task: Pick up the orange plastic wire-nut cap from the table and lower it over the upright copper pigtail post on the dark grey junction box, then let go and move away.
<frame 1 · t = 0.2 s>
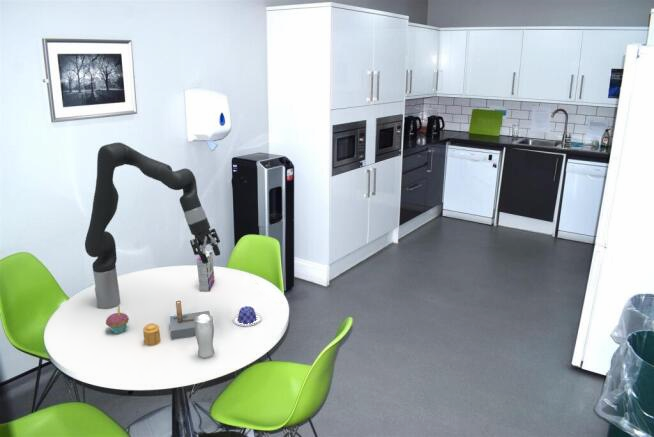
hand: (212, 259, 202), 31 cm above the table, tool tilted 20°, fingers open, 8 cm apart
pigtail post: (181, 330, 210), resting on junction box
pudding: (247, 320, 219), on the table
candy bar box: (207, 286, 249), on the table
cupcake: (118, 330, 211), on the table
beer glass: (206, 354, 195), on the table
junction box: (191, 329, 212), on the table
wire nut: (152, 341, 203), on the table
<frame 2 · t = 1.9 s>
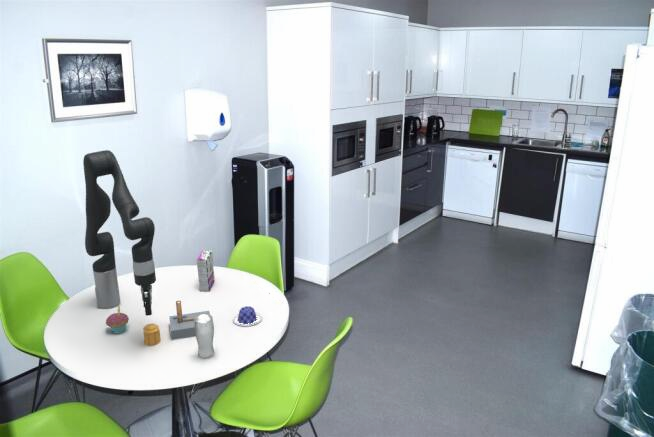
hand: (148, 309, 198), 14 cm above the table, tool pointing down, fingers open, 8 cm apart
nothing on the table moved.
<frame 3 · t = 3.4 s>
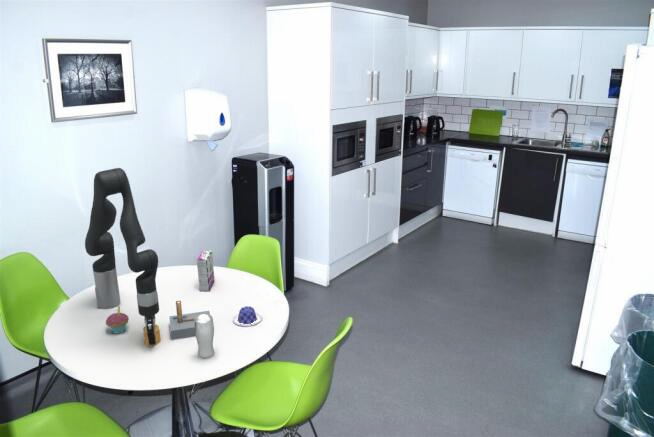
hand: (152, 339, 202), 1 cm above the table, tool pointing down, fingers closed on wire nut, 5 cm apart
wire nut: (152, 341, 203), on the table, touching gripper
everything else where it was.
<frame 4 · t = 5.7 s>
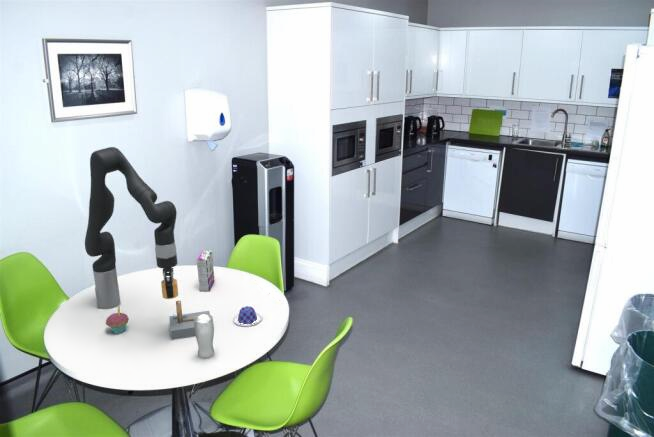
hand: (170, 293, 203), 18 cm above the table, tool pointing down, fingers closed on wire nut, 5 cm apart
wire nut: (170, 295, 203), point 17 cm above the table, touching gripper
everything else where it was.
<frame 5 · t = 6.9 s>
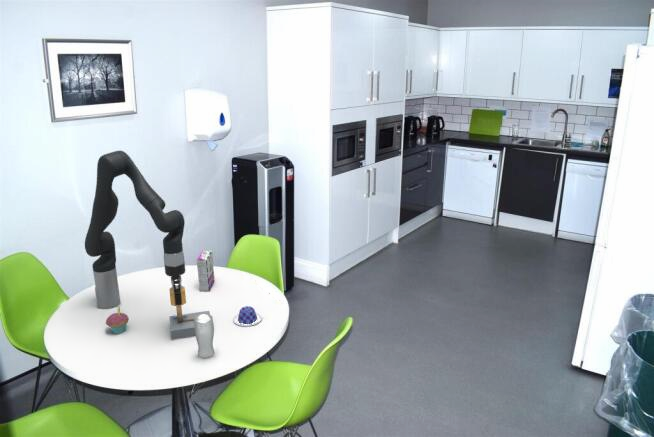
hand: (178, 300, 206), 13 cm above the table, tool pointing down, fingers closed on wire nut, 5 cm apart
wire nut: (178, 302, 206), point 13 cm above the table, touching gripper
everything else where it was.
when the fingers open (11 cm above the table, at t = 8.0 s): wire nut drops 2 cm, resting on pigtail post.
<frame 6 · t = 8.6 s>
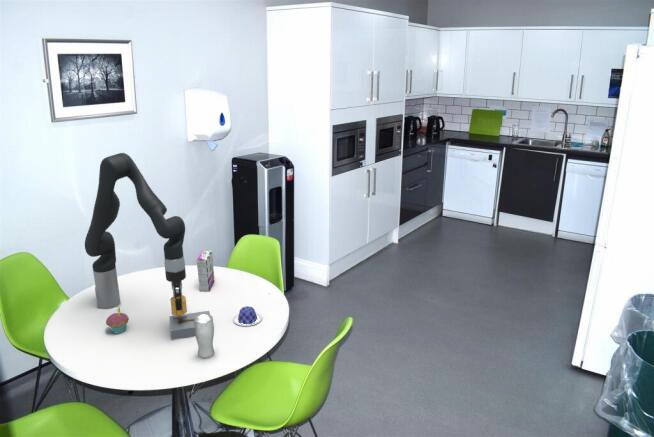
hand: (178, 304, 207), 12 cm above the table, tool pointing down, fingers open, 8 cm apart
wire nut: (179, 312, 208), point 8 cm above the table, touching pigtail post
everything else where it was.
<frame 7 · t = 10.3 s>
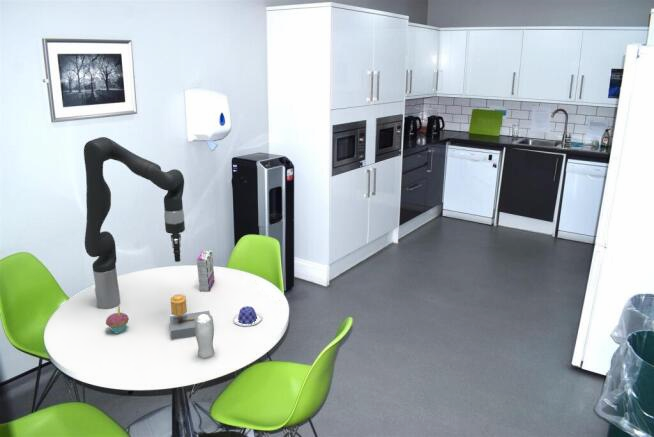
hand: (177, 257, 213), 27 cm above the table, tool pointing down, fingers open, 8 cm apart
nothing on the table moved.
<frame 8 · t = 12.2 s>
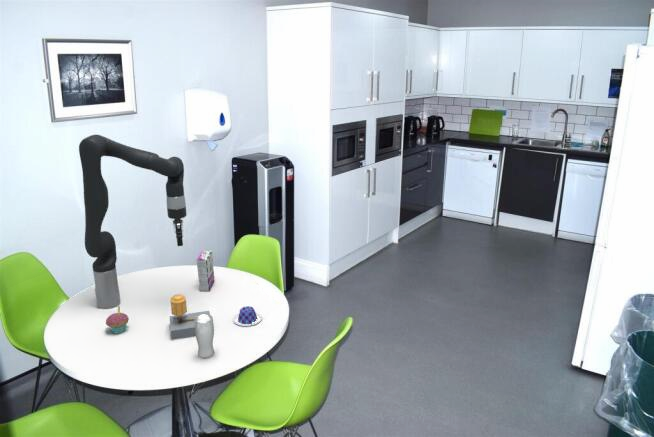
hand: (179, 242, 221), 30 cm above the table, tool pointing down, fingers open, 8 cm apart
nothing on the table moved.
at the end: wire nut 0.1 cm off-centre on the pigtail post, point 8.4 cm above the pigtail post's base; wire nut tilted 0°; the gripper is holding nothing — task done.
